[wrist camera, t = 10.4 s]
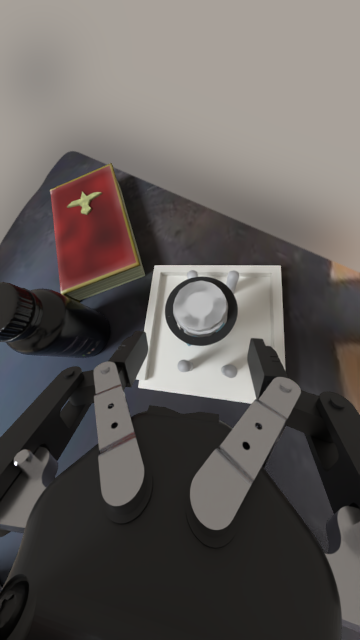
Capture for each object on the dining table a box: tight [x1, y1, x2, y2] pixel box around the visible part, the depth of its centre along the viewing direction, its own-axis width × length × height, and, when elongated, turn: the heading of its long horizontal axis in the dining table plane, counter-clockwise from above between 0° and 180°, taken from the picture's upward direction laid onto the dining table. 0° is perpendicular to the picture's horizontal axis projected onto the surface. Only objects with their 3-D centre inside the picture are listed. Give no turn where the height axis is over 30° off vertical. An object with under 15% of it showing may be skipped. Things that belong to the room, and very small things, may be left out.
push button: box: [165, 276, 238, 346], centre depth 17 cm, size 7×5×10 cm
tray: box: [136, 265, 286, 403], centre depth 20 cm, size 16×16×5 cm
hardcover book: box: [50, 163, 145, 303], centre depth 28 cm, size 12×21×4 cm, turn 18°
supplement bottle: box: [0, 282, 110, 358], centre depth 19 cm, size 7×7×12 cm
